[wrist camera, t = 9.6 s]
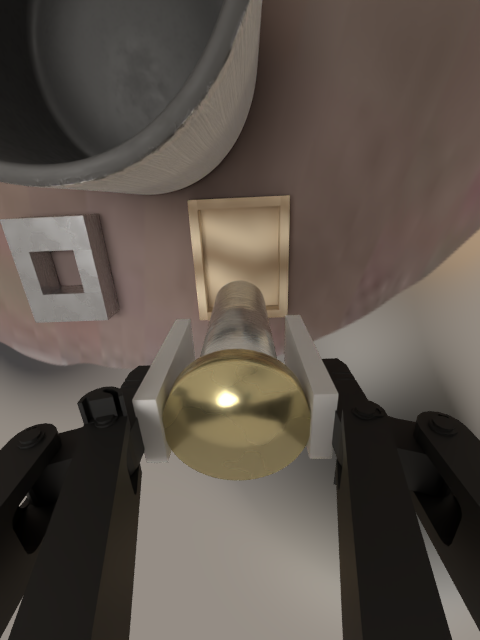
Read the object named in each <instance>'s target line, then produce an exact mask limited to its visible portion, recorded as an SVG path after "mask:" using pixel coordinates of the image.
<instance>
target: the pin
mask: <svg viewBox="0 0 480 640" xmlns="http://www.w3.org/2000/svg"><path fill="white" fill-rule="evenodd" d="M162 422H163V427H164V432H165V437H166V441H167V443H168V445H169V447H170V448H171V450H172V451H173V452H174V454H175V455H176V456H177V457H178V458H179V459H180V460H181V461H182V462H183V463H185V464H186V465H188V466H189V467H191V468H192V469H195V470H196V471H198V472H200V473H203V474H205V475H208V476H211V477H215V478H220V479H226V480H250V479H256V478H260V477H264V476H268V475H270V474H273V473H275V472H277V471H279V470H281V469H283V468H284V467H286V466H287V465H289V464H290V463H291V462H293V461H294V460H295V459H296V458H297V457H298V456H299V455H300V453H301V452H302V451H303V449H304V448H305V446H306V444H307V442H308V439H309V436H310V422H311V415H310V410H309V407H308V404H307V400H306V397H305V394H304V391H303V388H302V386H301V384H300V382H299V380H298V378H297V377H296V376H295V374H294V373H293V372H292V371H291V370H290V369H289V368H288V367H287V366H286V365H285V364H283V363H282V362H280V361H279V360H277V357H276V352H275V347H274V343H273V338H272V333H271V329H270V324H269V319H268V314H267V310H266V305H265V300H264V296H263V294H262V292H261V291H260V289H259V288H258V287H256V286H255V285H254V284H252V283H250V282H247V281H240V280H238V281H232V282H230V283H228V284H226V285H224V286H223V287H222V288H221V289H220V290H219V292H218V293H217V296H216V299H215V302H214V306H213V310H212V314H211V318H210V321H209V325H208V329H207V333H206V337H205V340H204V344H203V348H202V352H201V356H200V358H198V359H196V360H195V361H193V362H192V363H190V364H189V365H188V366H187V367H186V368H185V369H183V371H182V372H181V373H180V374H179V375H178V377H177V379H176V380H175V382H174V384H173V386H172V389H171V391H170V394H169V397H168V400H167V402H166V405H165V408H164V412H163V418H162Z"/></svg>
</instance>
